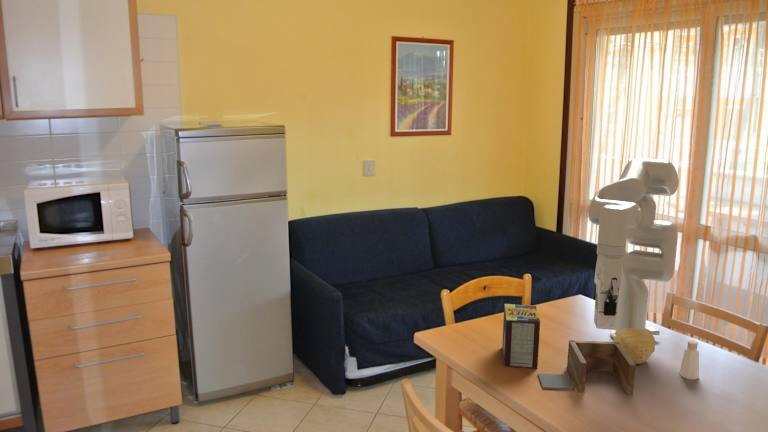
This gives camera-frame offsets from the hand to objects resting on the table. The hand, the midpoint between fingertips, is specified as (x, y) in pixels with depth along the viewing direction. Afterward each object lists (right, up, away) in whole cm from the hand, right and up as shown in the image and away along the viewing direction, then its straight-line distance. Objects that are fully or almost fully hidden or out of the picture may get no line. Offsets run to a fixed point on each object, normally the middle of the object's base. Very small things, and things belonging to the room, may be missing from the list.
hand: (606, 310), depth 175 cm
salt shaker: (+30, -22, +12) cm, 39 cm away
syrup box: (0, -5, +1) cm, 5 cm away
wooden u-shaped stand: (+1, -22, +8) cm, 24 cm away
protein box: (-19, -19, +24) cm, 36 cm away
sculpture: (+17, -20, +23) cm, 35 cm away
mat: (-12, -22, +7) cm, 26 cm away
